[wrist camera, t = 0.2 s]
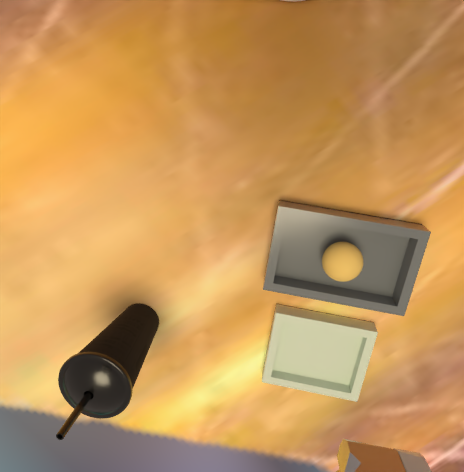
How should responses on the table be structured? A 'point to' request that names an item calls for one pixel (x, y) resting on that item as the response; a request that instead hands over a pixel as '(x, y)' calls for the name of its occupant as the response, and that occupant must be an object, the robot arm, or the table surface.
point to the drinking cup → (108, 366)
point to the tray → (318, 352)
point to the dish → (352, 231)
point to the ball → (342, 261)
